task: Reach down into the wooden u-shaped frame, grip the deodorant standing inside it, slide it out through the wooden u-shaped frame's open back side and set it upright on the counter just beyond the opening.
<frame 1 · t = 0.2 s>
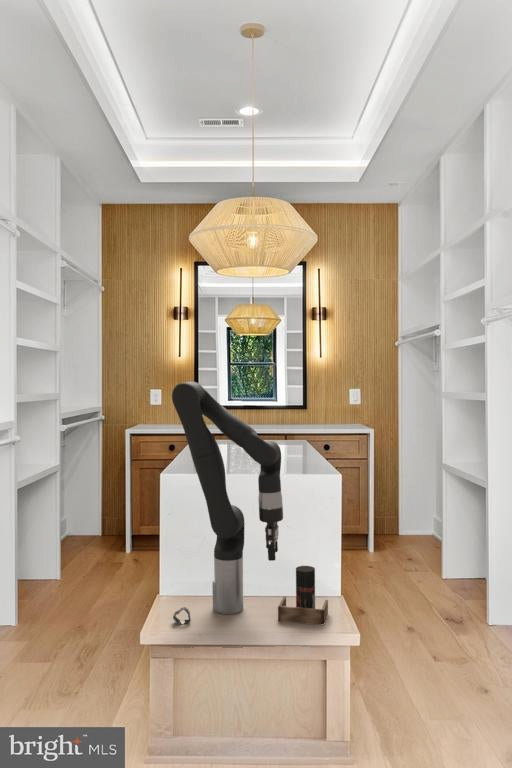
hand: (273, 556, 209), 18 cm above the table, tool pointing down, fingers open, 8 cm apart
wooden u-shaped frame: (304, 615, 207), on the table
deodorant: (305, 616, 207), on the table
wristwatch: (181, 624, 202), on the table
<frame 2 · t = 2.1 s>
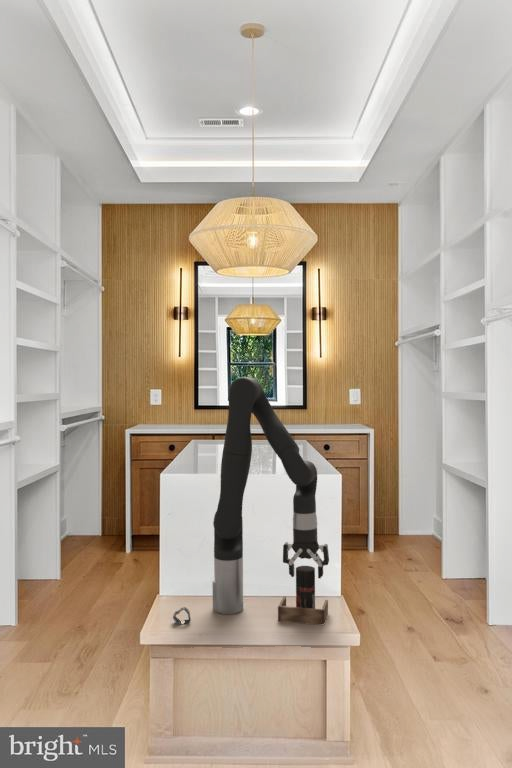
hand: (306, 576, 207), 12 cm above the table, tool pointing down, fingers open, 8 cm apart
nothing on the table moved.
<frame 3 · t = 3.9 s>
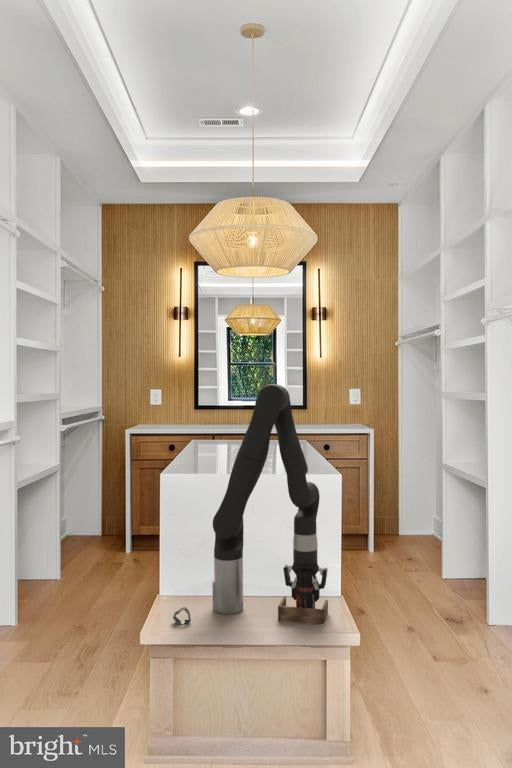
hand: (305, 599, 207), 5 cm above the table, tool pointing down, fingers closed on deodorant, 6 cm apart
deodorant: (305, 616, 207), on the table, touching gripper
everything else where it was.
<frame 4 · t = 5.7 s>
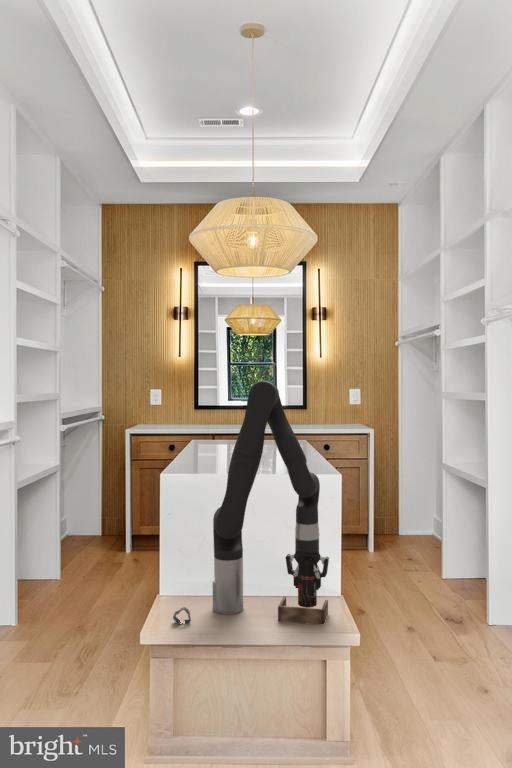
hand: (307, 588, 210), 8 cm above the table, tool pointing down, fingers closed on deodorant, 6 cm apart
deodorant: (307, 604, 210), point 2 cm above the table, touching gripper
everything else where it was.
when the fingers open (6 cm above the table, at t = 7.5 s): deodorant stays where it is, on the table.
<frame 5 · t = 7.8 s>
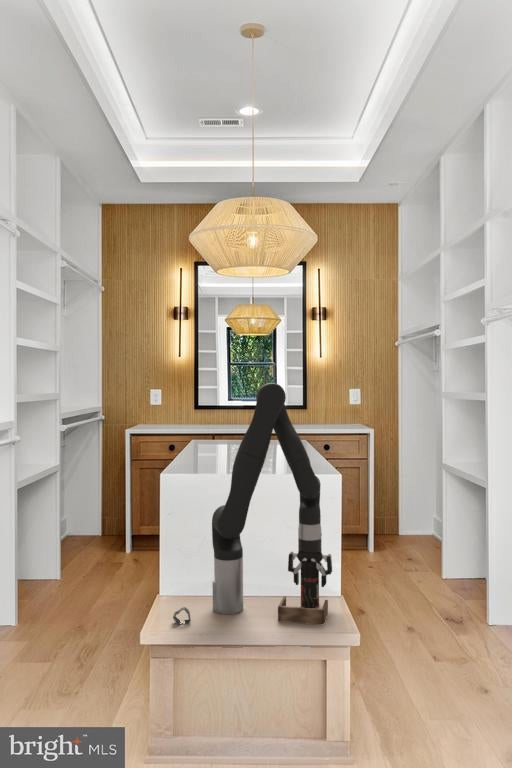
hand: (310, 585, 215), 7 cm above the table, tool pointing down, fingers open, 8 cm apart
deodorant: (310, 605, 216), on the table
everything else where it was.
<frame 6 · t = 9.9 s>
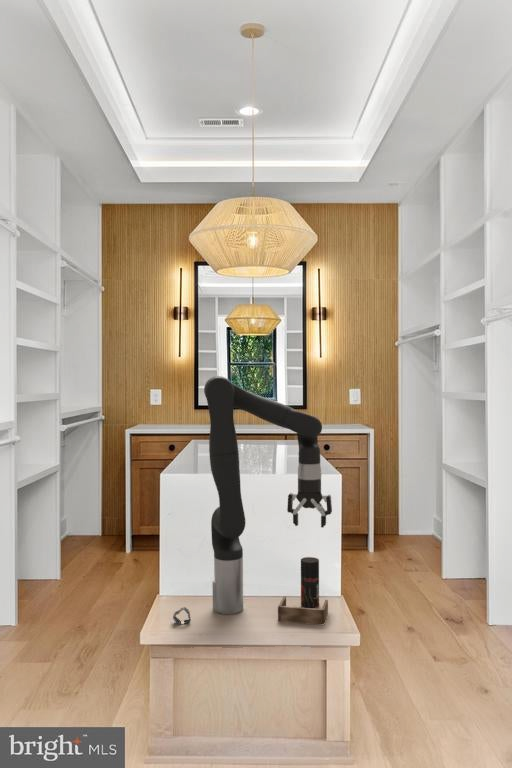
hand: (309, 526, 215), 26 cm above the table, tool pointing down, fingers open, 8 cm apart
nothing on the table moved.
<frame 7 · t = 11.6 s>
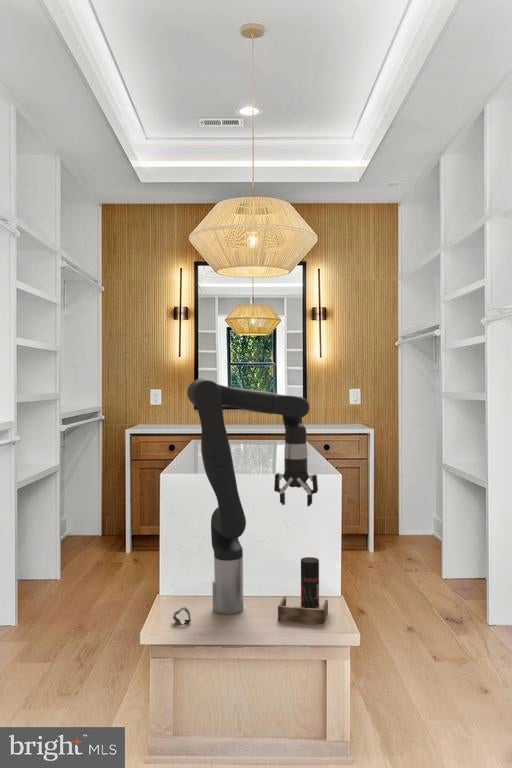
hand: (296, 505, 218), 32 cm above the table, tool pointing down, fingers open, 8 cm apart
nothing on the table moved.
at the end: deodorant inside the target area (0.5 cm from its centre), on the table; deodorant tilted 0°; the gripper is holding nothing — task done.
